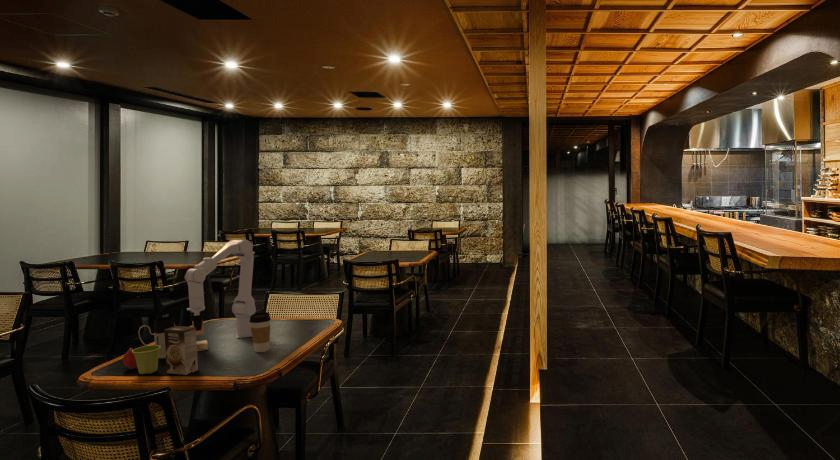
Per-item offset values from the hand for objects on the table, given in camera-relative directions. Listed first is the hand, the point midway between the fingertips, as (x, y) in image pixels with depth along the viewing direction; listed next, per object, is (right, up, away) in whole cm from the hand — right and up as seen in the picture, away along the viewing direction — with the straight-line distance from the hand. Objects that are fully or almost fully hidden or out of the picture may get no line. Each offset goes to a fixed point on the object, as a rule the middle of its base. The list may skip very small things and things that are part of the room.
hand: (198, 329), depth 225 cm
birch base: (0, -9, +1) cm, 9 cm away
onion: (-15, -11, -23) cm, 30 cm away
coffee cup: (+28, -8, -5) cm, 30 cm away
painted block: (0, -2, 0) cm, 2 cm away
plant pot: (-7, -11, -28) cm, 31 cm away
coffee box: (+6, -10, -29) cm, 32 cm away
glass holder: (-12, -10, -8) cm, 18 cm away
